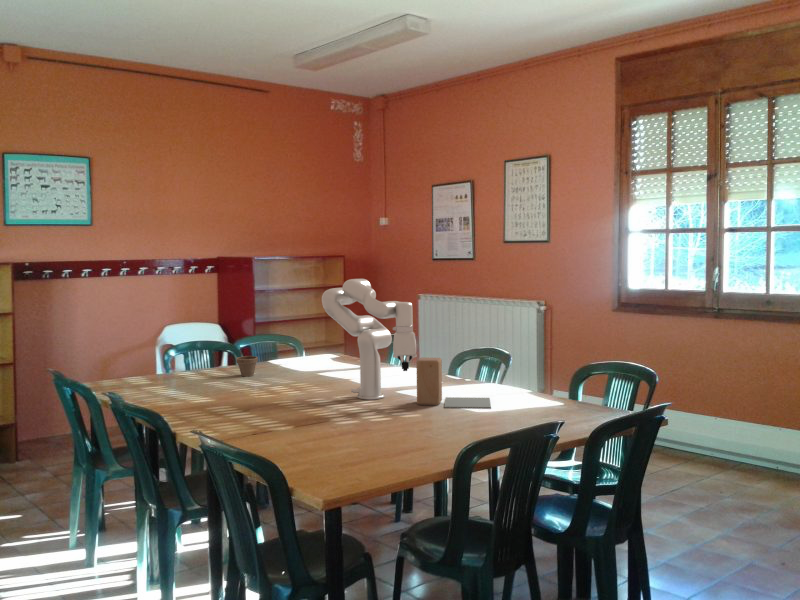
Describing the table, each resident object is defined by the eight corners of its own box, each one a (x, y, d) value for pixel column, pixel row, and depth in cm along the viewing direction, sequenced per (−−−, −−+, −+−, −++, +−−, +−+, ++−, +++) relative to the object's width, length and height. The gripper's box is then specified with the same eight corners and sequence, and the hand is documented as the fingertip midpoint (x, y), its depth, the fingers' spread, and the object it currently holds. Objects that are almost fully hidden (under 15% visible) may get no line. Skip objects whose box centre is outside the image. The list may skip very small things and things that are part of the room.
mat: (444, 408, 334) (444, 406, 334) (445, 398, 353) (445, 397, 353) (490, 408, 332) (490, 407, 332) (489, 399, 352) (489, 397, 352)
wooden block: (438, 405, 338) (438, 360, 337) (416, 405, 340) (416, 360, 339) (442, 401, 348) (441, 357, 347) (420, 400, 350) (420, 356, 349)
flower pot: (249, 378, 413) (249, 359, 412) (232, 376, 418) (232, 358, 417) (262, 374, 423) (261, 356, 423) (245, 373, 428) (245, 355, 428)
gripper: (386, 330, 339) (387, 372, 341) (420, 330, 338) (421, 371, 339) (388, 329, 347) (389, 369, 348) (421, 328, 346) (422, 369, 347)
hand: (405, 370), depth 344 cm, fingers closed
